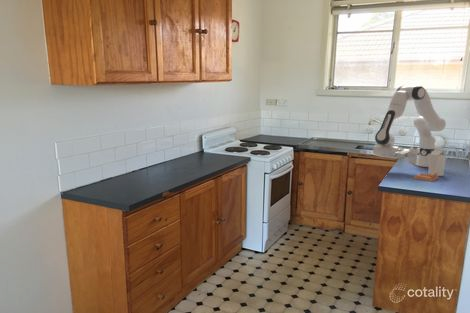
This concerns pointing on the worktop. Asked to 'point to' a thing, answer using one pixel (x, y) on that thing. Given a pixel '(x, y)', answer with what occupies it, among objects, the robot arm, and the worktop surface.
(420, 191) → the worktop surface
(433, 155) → the milk carton
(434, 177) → the coupler
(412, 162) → the lock
